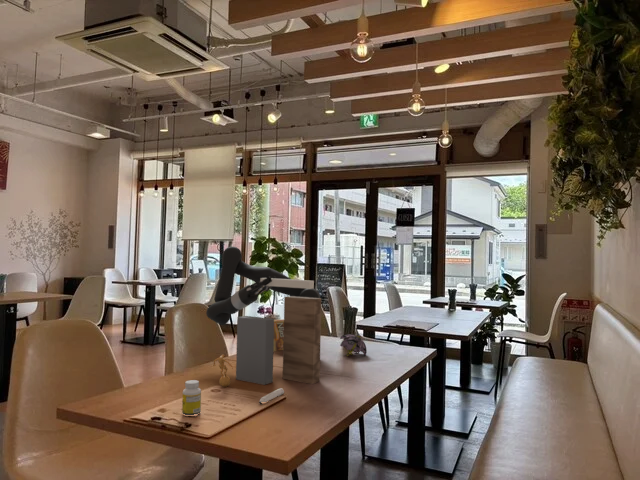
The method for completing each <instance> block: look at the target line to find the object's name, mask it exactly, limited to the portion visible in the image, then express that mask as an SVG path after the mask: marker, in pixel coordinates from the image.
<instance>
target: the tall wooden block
mask: <svg viewBox="0 0 640 480" xmlns="http://www.w3.org/2000/svg"><path fill="white" fill-rule="evenodd" d="M283 304H284V306H283V312H284V313H283V319H284V341H283V350H282V379H283V380H287V381H288V380H289V381H294V382H300V383H305V384H309V385H311V384H312V385H314V384H317V383H319V382H320V380H321V379H320V378H321V376H320V371H321V339H322V338H321V336H322V335H321V333H322V332H321V331H322V329H321V328H322V327H321V326H322V325H321V324H322V298H321V297H320V298H309V297H295V296H289V295H288V296H284V303H283ZM316 382H317V383H316Z"/></svg>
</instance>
